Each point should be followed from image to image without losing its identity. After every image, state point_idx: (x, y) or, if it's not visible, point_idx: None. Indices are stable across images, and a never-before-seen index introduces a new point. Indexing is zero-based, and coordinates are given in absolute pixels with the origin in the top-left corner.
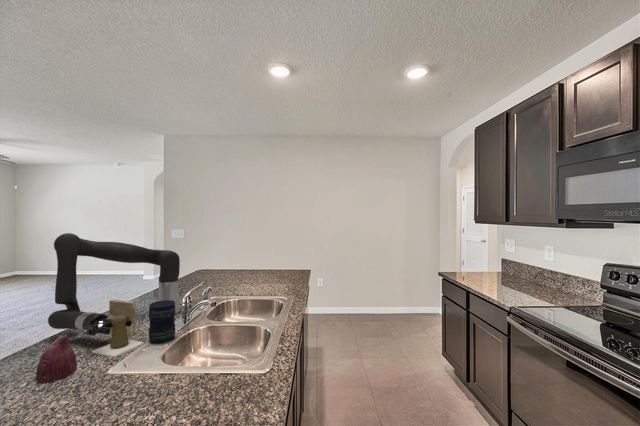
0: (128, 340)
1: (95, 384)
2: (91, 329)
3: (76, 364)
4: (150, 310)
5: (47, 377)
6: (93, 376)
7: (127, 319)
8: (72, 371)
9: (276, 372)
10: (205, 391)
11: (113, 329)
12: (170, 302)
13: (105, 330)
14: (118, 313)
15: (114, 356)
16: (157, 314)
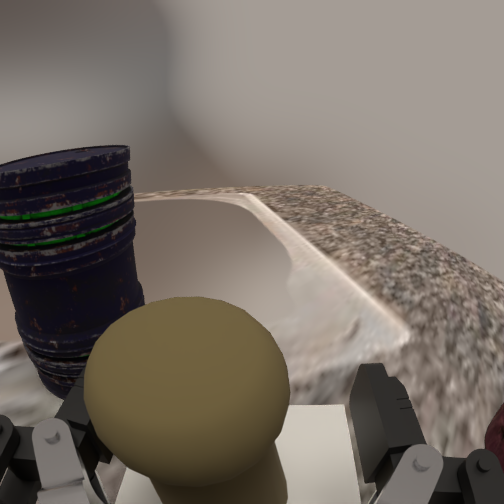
0: (128, 499)
1: (449, 313)
2: (500, 471)
3: (497, 419)
4: (111, 185)
5: None
6: (448, 346)
7: (25, 429)
8: (502, 404)
9: (246, 190)
10: (326, 211)
11: (271, 446)
12: (39, 158)
13: (397, 382)
14: None
15: (342, 407)
16: (133, 194)
